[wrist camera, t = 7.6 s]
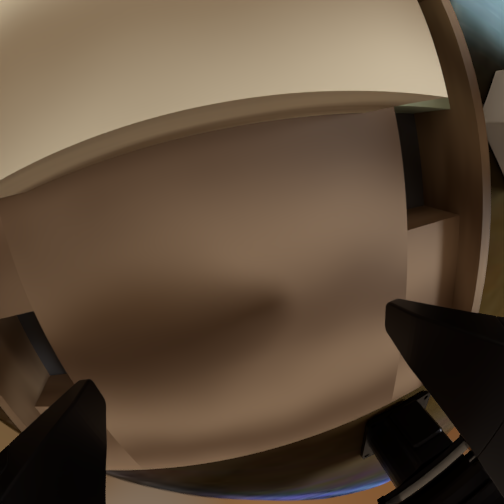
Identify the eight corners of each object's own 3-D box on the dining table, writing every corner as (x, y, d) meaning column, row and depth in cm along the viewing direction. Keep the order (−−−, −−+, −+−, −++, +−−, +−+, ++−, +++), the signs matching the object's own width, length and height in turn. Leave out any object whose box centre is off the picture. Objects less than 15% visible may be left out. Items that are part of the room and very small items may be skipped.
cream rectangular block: (365, 112, 9) (447, 97, 5) (26, 192, 7) (-51, 213, 3) (333, -3, 7) (389, -52, 3) (14, 66, 6) (-50, 37, 2)
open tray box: (419, 349, 17) (457, 383, 13) (89, 436, 14) (79, 486, 10) (391, 12, 10) (442, -14, 6) (-36, 105, 7) (-88, 99, 3)
